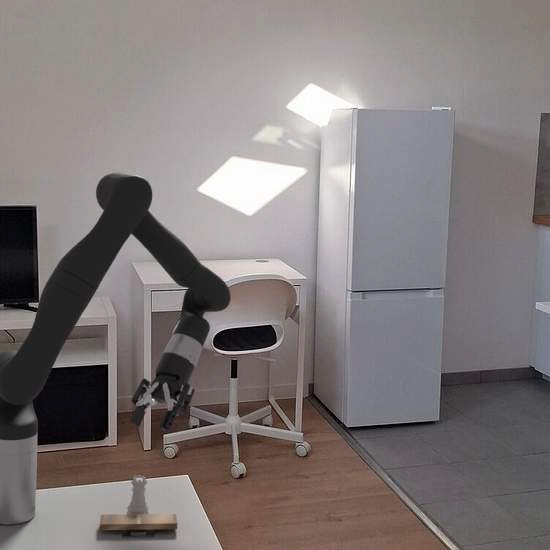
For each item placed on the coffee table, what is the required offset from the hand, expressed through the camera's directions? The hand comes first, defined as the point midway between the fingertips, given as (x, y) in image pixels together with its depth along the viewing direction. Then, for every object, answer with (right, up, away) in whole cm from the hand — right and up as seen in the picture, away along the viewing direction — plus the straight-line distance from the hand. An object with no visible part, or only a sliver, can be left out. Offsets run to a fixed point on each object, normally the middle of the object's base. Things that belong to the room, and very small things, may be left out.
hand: (148, 427), depth 175 cm
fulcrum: (-1, -19, -9) cm, 21 cm away
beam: (-1, -17, -9) cm, 19 cm away
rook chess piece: (-2, -18, -2) cm, 18 cm away
